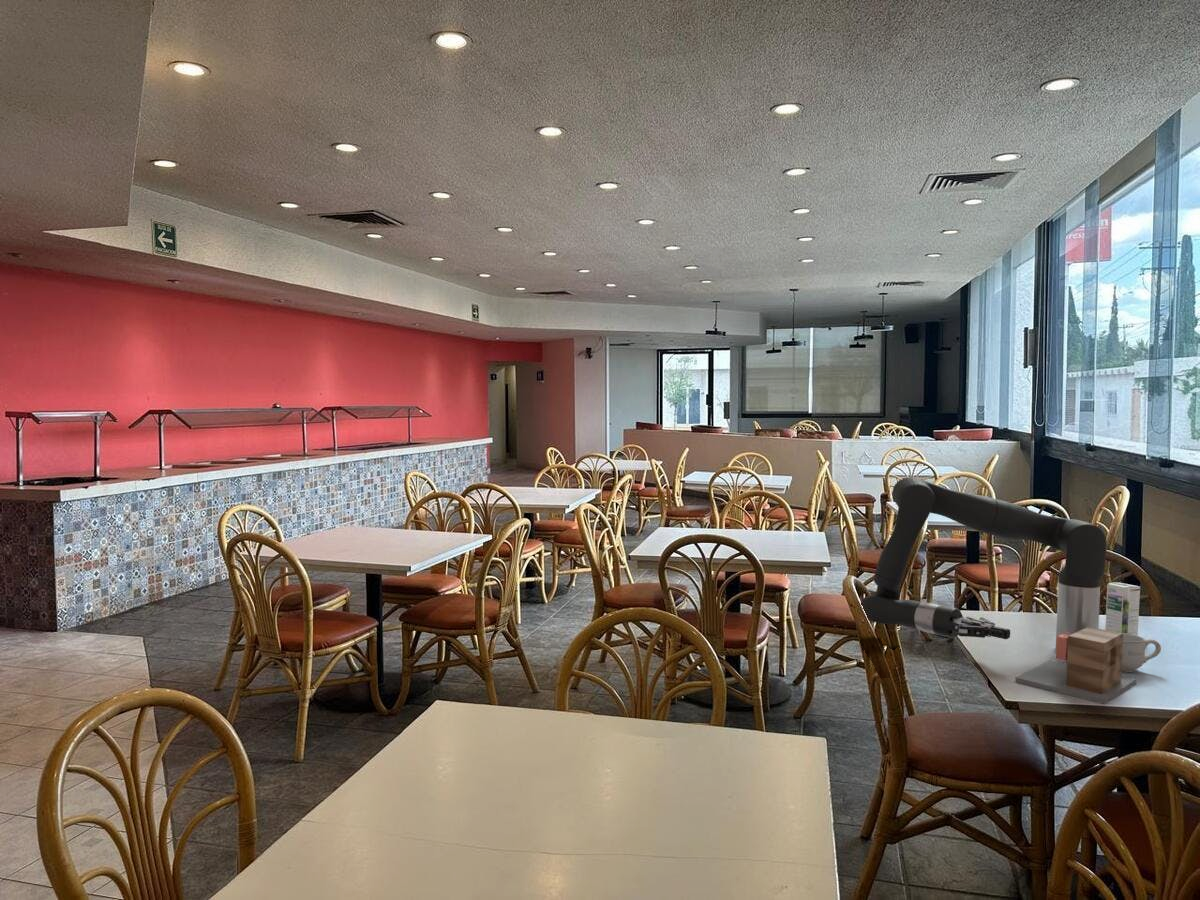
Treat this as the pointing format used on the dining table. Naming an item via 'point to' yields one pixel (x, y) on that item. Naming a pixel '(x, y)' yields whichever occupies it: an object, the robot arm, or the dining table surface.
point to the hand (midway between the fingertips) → (1008, 634)
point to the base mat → (1055, 677)
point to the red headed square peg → (1062, 646)
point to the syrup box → (1122, 608)
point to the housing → (1094, 659)
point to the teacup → (1136, 652)
